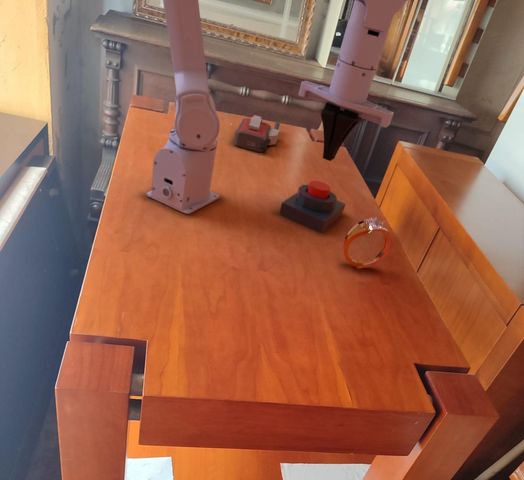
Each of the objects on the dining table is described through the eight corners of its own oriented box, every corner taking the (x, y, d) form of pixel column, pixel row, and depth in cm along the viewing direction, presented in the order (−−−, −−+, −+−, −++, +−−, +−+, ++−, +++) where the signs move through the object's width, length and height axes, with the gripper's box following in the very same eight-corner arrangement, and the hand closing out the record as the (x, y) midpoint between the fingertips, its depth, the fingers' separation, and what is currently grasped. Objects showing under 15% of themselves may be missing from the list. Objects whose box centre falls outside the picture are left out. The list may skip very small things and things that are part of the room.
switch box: (321, 233, 80) (328, 210, 77) (278, 214, 82) (284, 192, 79) (341, 215, 87) (349, 194, 84) (302, 198, 89) (308, 177, 86)
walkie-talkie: (272, 158, 101) (280, 130, 117) (277, 136, 98) (285, 111, 114) (231, 147, 101) (245, 121, 116) (235, 125, 98) (248, 101, 113)
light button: (322, 202, 80) (325, 192, 79) (303, 194, 81) (306, 184, 80) (330, 196, 83) (333, 186, 82) (311, 188, 84) (314, 178, 83)
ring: (337, 269, 72) (355, 220, 67) (334, 258, 74) (351, 209, 69) (381, 276, 73) (403, 229, 68) (377, 265, 76) (397, 218, 70)
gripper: (411, 77, 71) (377, 168, 79) (322, 46, 74) (298, 137, 83) (399, 82, 65) (363, 179, 74) (303, 49, 69) (280, 146, 77)
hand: (328, 158), depth 78 cm, fingers closed
